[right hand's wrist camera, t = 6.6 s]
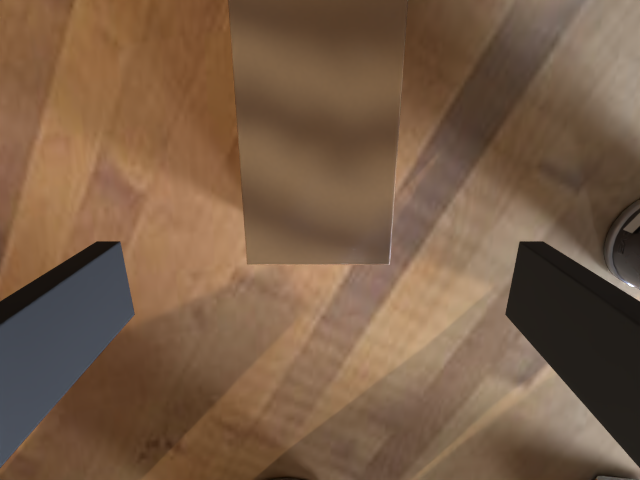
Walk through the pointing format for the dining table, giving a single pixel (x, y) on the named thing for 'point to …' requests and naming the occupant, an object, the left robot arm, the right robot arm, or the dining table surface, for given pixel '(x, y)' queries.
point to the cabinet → (318, 127)
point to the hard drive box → (611, 478)
